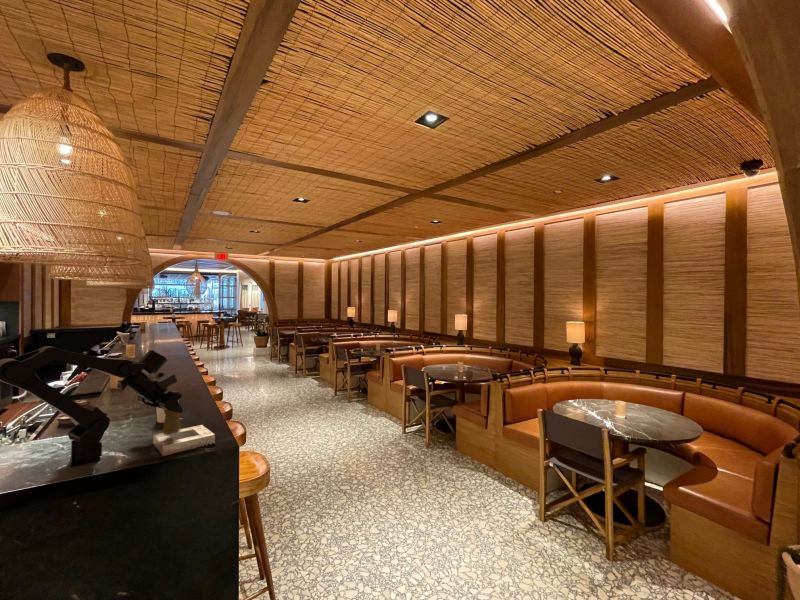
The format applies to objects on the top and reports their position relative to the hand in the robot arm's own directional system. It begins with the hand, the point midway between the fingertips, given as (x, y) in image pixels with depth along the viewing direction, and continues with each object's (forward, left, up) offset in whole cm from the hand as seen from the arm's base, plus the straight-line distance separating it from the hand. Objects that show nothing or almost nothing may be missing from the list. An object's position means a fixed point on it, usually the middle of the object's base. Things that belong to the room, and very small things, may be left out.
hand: (176, 410), depth 131 cm
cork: (-1, -1, -9) cm, 9 cm away
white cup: (+2, +21, -9) cm, 22 cm away
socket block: (0, -12, -9) cm, 15 cm away
